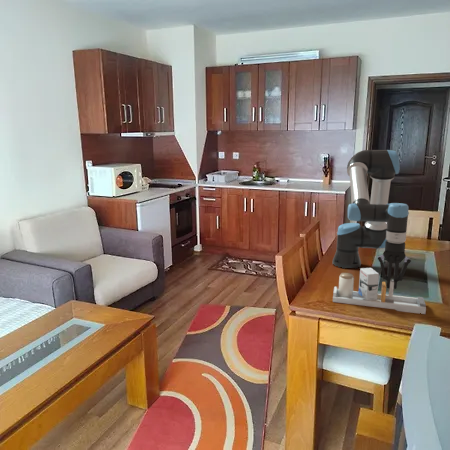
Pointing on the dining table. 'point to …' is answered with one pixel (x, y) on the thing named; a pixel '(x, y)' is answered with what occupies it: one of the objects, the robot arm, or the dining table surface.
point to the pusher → (383, 294)
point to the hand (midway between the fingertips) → (390, 295)
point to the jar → (346, 285)
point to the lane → (399, 302)
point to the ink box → (368, 284)
